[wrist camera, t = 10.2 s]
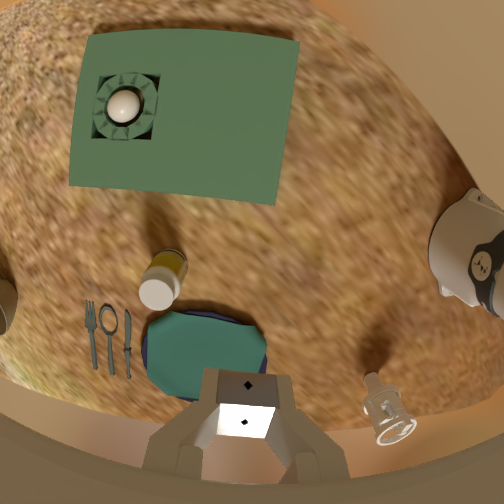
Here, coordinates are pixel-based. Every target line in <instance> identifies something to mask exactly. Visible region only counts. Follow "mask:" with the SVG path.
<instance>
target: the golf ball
mask: <svg viewBox="0 0 504 504" xmlns="http://www.w3.org/2000/svg"><path fill="white" fill-rule="evenodd" d="M139 108H140V101H139V98H138V96H137V95H136V94H135V93H133V92H132V91H128V90H122V91H119V92H117V93H115V94H114V95H113V96H112V97H111V98H110V100H109V102H108V105H107V111H108V114H109V116H110V117H111V118H112V119H113V120H114V121H116V122H127V121H130V120H132V119H133V118H134V117H135V116H136V115H137V113H138V111H139Z"/></svg>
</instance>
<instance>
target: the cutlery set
mask: <svg viewBox="0 0 504 504" xmlns="http://www.w3.org/2000/svg"><path fill="white" fill-rule="evenodd" d="M106 309H107V310H111V311H112V312H113V310H112V309H111V307H107V306H104V308H103V309H102V310H101V311H100V317H99V321H100V325H101V328H102V330H103V331H104V333H105V334H106V335H107V336H108V348H109V372H110V375H114V374H115V372H114V365H113V357H112V344H111V337H112V336H113V335H114V334H115V333H116V332H117V327H118V322H117V326H116V329H115V330H114V331H113V332H110V331H107V330H106V329H105V327H104V326H103V323H102V320H101V319H102V313H103V312H104V311H105V310H106ZM113 314H114V315H115V313H114V312H113ZM115 317H116V315H115ZM116 321H117V318H116ZM85 327H87V328H88V333H89V335H90V341H91V350H92V362H93V369H94V370H97V369H98V365H97V358H96V348H95V339H94V330H95V329H96V328H97V324H96V317H95V309H94V302H92V311H91V302H90V301H89V311H88V304H87V300H86V320H85ZM125 332H126V347H125V348H124V350H125V354H124V356H125V358H126V364H127V378H128V379H131V376H130V370H129V366H130V362H129V359H130V356H131V353H130V351H131V348H129V347H130V341H131V317H130V314H129V312H128V311H127V310H126V311H125ZM266 348H267V343H266V339H265V338H264V337H263V336H262V335H261V334H260V332H259V331H258V330H257V328H256V327H255V326H245V325H243V324H241V323H240V322H238V321H237V320H235V319H234V318H231V317H228V316H225V315H222V314H219V313H216V312H213V311H197V310H188V311H183V312H179V313H176V312H173V311H170V312H168V313H166V314H165V315H164V316H162V317H160V318H159V319H156V320H155V321H153V322H151V323H150V325H149V327H148V333H147V334H146V335H145V337H144V341H143V345H142V350H141V353H142V358H143V363H144V366H145V368H146V370H147V377H148V378H149V379H150V380H151V381H152V382H153V383H154V384H155V385H156V386H157V387H158V388H159V389H160V390H162V391H163V392H164V393H165V394H167V395H170V396H176V397H177V398H179V399H182V400H186V401H189V402H193V401H199V397H200V390H201V384H202V377H203V371H204V368H205V367H209V368H215V369H224V370H231V371H239V372H248V373H260V374H266V365H267V357H266V354H265V352H266Z"/></svg>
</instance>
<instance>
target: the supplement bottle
mask: <svg viewBox="0 0 504 504" xmlns="http://www.w3.org/2000/svg"><path fill="white" fill-rule="evenodd" d="M187 268H188V265H187V261H186V259H185V257H184V256H183V254H182V253H180V252H179V251H177V250H175V249H163V250H161V251H159V252H158V253H157V254H156V255H155V257H154V259H153V260H152V262H151V263H150V265H149V266H148V268H147V269H146V271H145V272H144V274H143V277H142V281H141V286H140V288H139V296H140V299H141V301H142V302H143V304H144V305H145V306H147V307H148V308H150V309H153V310H164V309H167V308H168V307H169V306H170V305H171V304H172V302H173V300H174V299H175V298H176V297H177V296H178V295H179V292H180V290H181V287H182V284H183V281H184V278H185V275H186V273H187Z"/></svg>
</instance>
